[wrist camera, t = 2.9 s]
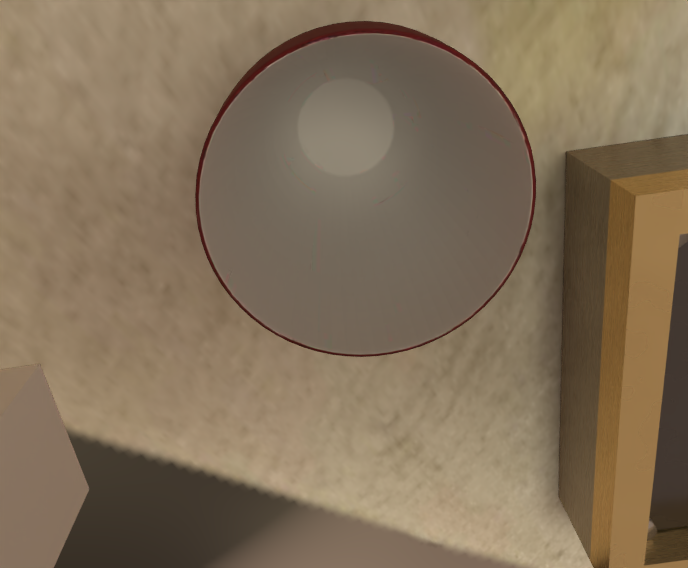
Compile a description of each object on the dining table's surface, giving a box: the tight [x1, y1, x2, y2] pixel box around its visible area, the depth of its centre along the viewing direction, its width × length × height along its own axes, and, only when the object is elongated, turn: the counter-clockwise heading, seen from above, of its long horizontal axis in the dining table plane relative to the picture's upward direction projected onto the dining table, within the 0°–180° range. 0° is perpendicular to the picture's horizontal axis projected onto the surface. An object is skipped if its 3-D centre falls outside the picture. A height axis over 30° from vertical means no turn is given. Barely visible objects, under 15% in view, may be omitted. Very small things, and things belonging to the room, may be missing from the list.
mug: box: [195, 21, 536, 357], centre depth 20 cm, size 10×8×10 cm
